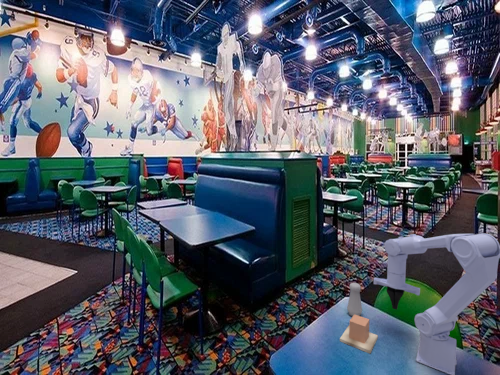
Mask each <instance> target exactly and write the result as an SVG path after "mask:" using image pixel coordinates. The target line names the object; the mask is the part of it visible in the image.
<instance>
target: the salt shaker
mask: <svg viewBox="0 0 500 375" xmlns="http://www.w3.org/2000/svg"><path fill="white" fill-rule="evenodd" d="M361 287H362V286H361V285H360V283H357V282H351V283H350V284H349V287H348V288H349V289H350V293H349V297H348V302H347V306H346V309H347V312H348V314H349V316H351V317H353V315H354V314H355V315H358V316H361V315H362V313H363V306H362V300H361V294H360V291H361Z"/></svg>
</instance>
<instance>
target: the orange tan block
mask: <svg viewBox="0 0 500 375" xmlns="http://www.w3.org/2000/svg"><path fill="white" fill-rule="evenodd" d="M348 324H349V325H348V326H349V338H352V339H354V340H357V341H359V342H362V343H364V344H365V342H366V341H367V339H368V337H369V332H370V319H369V318H366V317H364V316H361V315H360V316H358V315H355V314H354V315H353V316H351V318H350V319H349V322H348Z"/></svg>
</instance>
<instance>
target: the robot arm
mask: <svg viewBox="0 0 500 375" xmlns="http://www.w3.org/2000/svg"><path fill="white" fill-rule="evenodd" d="M383 245H384V250H385V252H386V254H387V267H386V268H387V273H386V274H387V275H386V278H381V277H380V278H379V277H374V278H373V285H380V286H383V287H386V292H387V295H388V298H389V299H390V302H391V308H392V309H394V310H398V308H399V303H400V301H401V299H402V298H403V295H404V293H405V292H407V293H410V294H414V295H416V296H420V294H421V287H418V286H414V285H411V284H408V283H406V271H407V270H406V269H407V260H408V255H417V254H424V253H426V252H427V250H428V249H440V248H446V249H447V251H448V252H450V253H453V255H454V257H455V258H456V260H457V261H458V263H459V265H460V266H461V267H462V269H463V271H464V272H465V273H464V274H463V275H462V276H461V277H460V278H459V279H458V280H457V281H456V282H455V283H454V285H453V286H452V287H451V288H450V289H449V290H448V291H446V293H445V294H444V295H443V297H441V298H440V299H439V300H438V301H437V303H436V304H434V305H433V306H431V307H429V308H428V309H426V310H424V312H420V313H417V314H415V316H414V324H415V327H416V329H417V330H418V332H419V340H418V341H419V343H418V344H419V346H418V348H417V354H416V359H415V361H416V362H417V363H419V364H422V365H425V366H427V367H430V368H433V369H434V370H435V369H436V370H437V371H439V372H443V373H445V374H448V375H456V366H457V364H458V359H457V358H456V357H457V339H456V338H453V337H451V336H449V335H450V332H451V331H453V330H454V329H455V326H456V322H457V321H458V320H459V317H458V315H460V314H461V313H462V312H463V311H464V310H465V309H466V308H468V306H469V305H470V304H471V303H472V302H474V301H475V300H476V299H477V298H478V297H479V296H480V295H481V294H483V292H485V290H486V289H487V288H488V287H490V286H491V285H492V284H493V283H494V282H495V281H496V279H497V276H498V267H499V261H500V243H499V241H498V239H497V238H496V237H495V236H493V235H492V234H489V233H484V232H481V233H476V234H475V233H452V234H444V235H439V236H433V237H427V238H426V237H425V238H424V237H423V236H421V235H417V234H416V233H413V234H409V236H405V237H404V236H402V235H401V236H398V237H397V238H389V239H387V240H386V241H385V242H384V244H383Z"/></svg>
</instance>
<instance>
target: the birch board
mask: <svg viewBox="0 0 500 375" xmlns="http://www.w3.org/2000/svg"><path fill="white" fill-rule="evenodd" d="M378 339H379V336H378V334H375V333H372V332H371V331H369V337H368V339H367V341H366V342H365V344H364V343H362V342H359V341H357V340H354V339H352V338H349V325H348V326H347V327H346V329H345V330H344V332H343V333H342V335H341V336H340V337H339V342H341V343H342V344H345V345H348V346H350V347H353V348H355V349H357V350H359V351H362V352H365V353H367V354H370V355H371V354H372V351H373V349H374V348H375V345H376V342H377V340H378Z"/></svg>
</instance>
